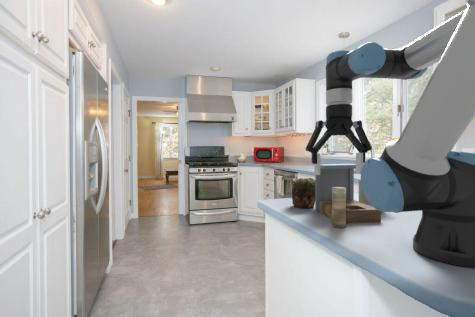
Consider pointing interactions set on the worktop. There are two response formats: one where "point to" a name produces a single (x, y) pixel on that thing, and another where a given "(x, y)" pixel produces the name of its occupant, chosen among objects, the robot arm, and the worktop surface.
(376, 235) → the worktop surface
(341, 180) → the grey open drawer
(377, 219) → the socket block
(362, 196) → the can
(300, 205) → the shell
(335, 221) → the peg
